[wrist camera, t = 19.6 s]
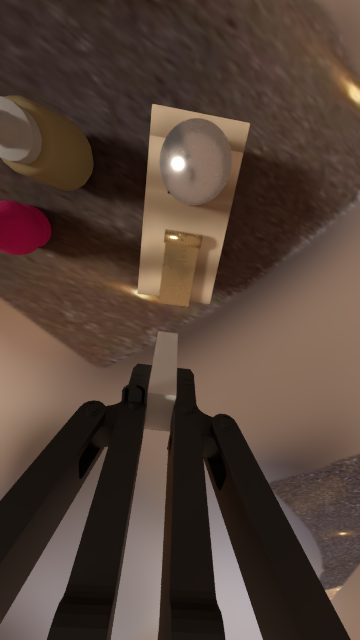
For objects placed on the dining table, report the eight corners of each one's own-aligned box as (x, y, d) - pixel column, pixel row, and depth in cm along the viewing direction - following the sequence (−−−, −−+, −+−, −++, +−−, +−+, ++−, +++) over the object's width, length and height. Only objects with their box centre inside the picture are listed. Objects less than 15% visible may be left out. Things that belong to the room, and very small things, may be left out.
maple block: (160, 133, 32) (152, 103, 23) (230, 147, 33) (250, 123, 24) (147, 274, 40) (137, 293, 31) (203, 283, 41) (209, 304, 32)
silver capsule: (169, 145, 31) (163, 111, 20) (219, 154, 31) (239, 125, 20) (163, 202, 34) (156, 198, 23) (209, 209, 34) (222, 209, 23)
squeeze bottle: (110, 149, 33) (42, 91, 16) (89, 203, 36) (13, 199, 19) (55, 110, 31) (-84, 2, 15) (37, 171, 34) (-94, 137, 18)
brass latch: (166, 228, 28) (165, 229, 26) (201, 234, 28) (203, 235, 27) (157, 299, 31) (156, 303, 30) (189, 304, 32) (189, 308, 30)
